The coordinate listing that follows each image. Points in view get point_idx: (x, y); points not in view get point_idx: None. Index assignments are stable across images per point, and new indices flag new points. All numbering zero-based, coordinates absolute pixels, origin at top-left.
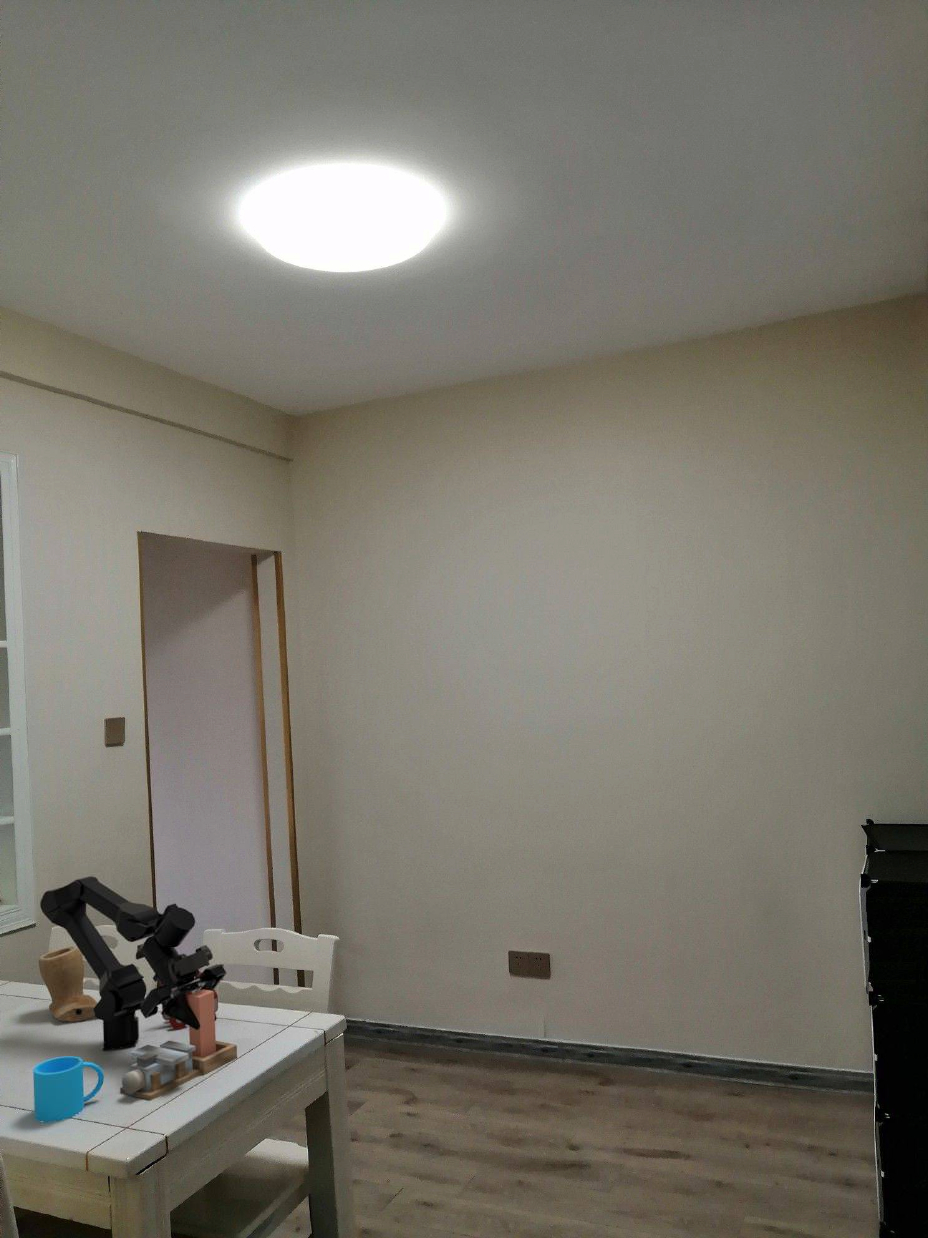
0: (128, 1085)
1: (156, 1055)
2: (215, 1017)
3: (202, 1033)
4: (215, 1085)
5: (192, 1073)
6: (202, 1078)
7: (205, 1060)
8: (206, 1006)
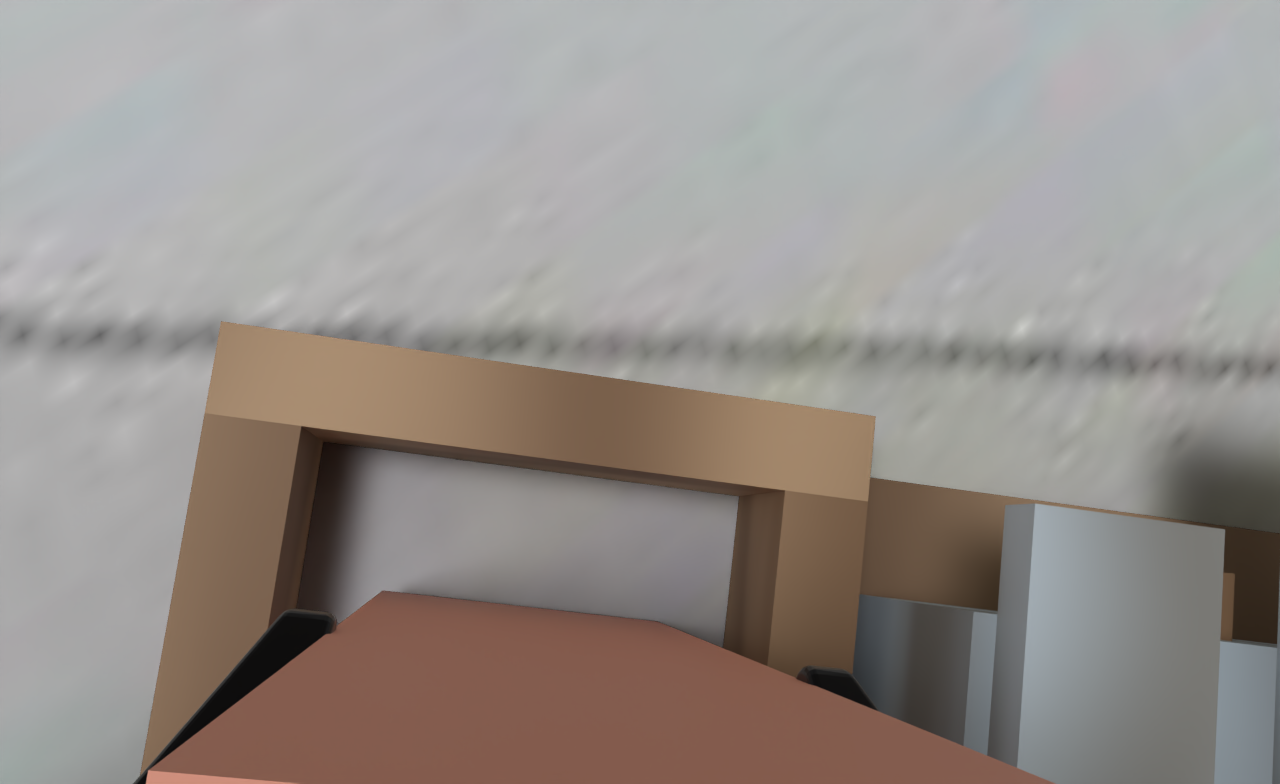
0: None
1: None
2: (302, 631)
3: (702, 655)
4: (993, 139)
5: (952, 509)
6: (896, 394)
7: (846, 413)
8: (670, 717)
